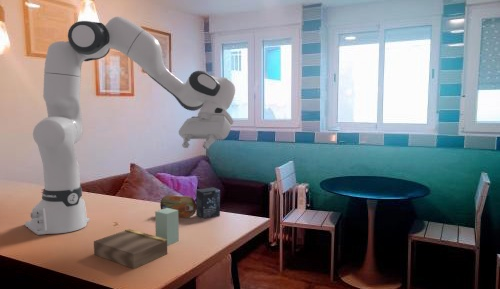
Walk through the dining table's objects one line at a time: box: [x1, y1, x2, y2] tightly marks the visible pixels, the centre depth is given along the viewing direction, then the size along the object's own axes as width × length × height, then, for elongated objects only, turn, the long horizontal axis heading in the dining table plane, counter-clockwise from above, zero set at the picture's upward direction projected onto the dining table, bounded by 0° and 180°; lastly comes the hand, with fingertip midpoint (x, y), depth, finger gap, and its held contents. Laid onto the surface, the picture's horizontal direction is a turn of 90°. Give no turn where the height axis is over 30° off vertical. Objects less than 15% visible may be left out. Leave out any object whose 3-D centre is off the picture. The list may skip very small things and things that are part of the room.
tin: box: [159, 194, 196, 219], centre depth 143 cm, size 15×3×8 cm, turn 69°
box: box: [195, 187, 221, 220], centre depth 144 cm, size 8×6×11 cm
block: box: [154, 208, 180, 247], centre depth 116 cm, size 5×5×10 cm
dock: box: [93, 228, 168, 269], centre depth 106 cm, size 17×12×4 cm
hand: (194, 147), depth 125 cm, fingers open, 8 cm apart
